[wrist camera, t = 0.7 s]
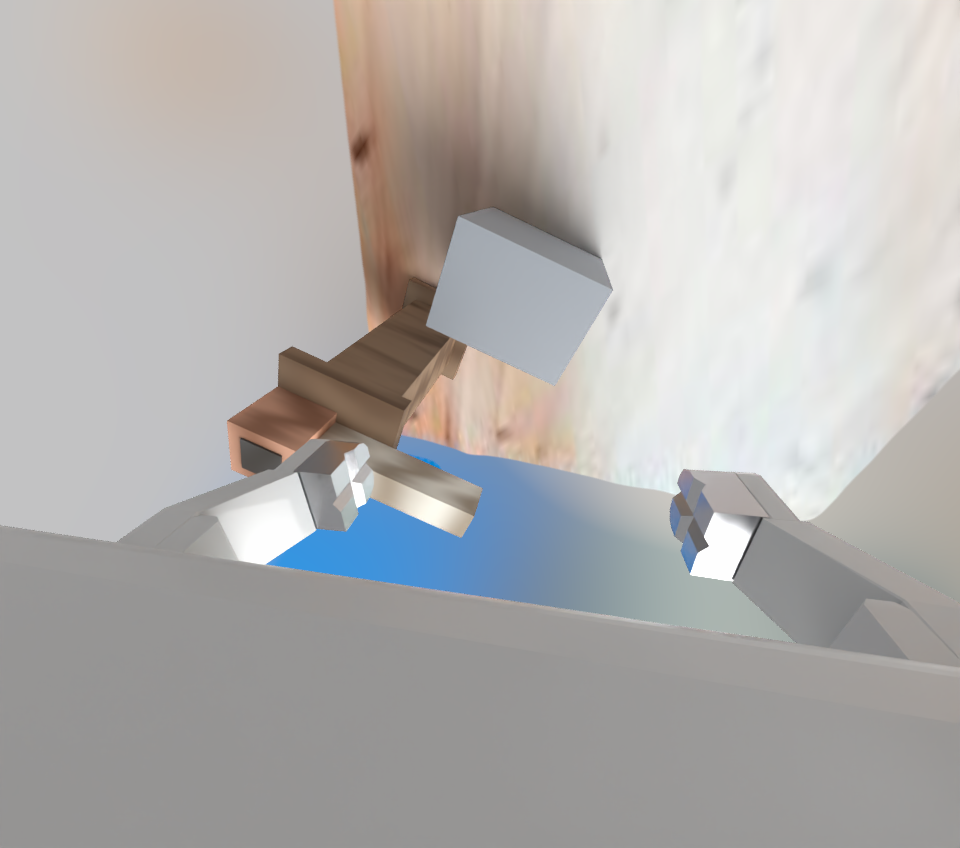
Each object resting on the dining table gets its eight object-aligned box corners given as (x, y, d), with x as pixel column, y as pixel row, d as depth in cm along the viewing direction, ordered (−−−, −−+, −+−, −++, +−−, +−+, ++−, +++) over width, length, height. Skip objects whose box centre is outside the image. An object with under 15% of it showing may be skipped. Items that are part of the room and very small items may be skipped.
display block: (493, 207, 41) (458, 215, 29) (601, 259, 41) (613, 289, 29) (464, 289, 47) (425, 325, 34) (560, 334, 47) (554, 385, 35)
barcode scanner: (487, 480, 28) (471, 531, 24) (466, 516, 31) (449, 567, 27) (278, 386, 28) (225, 422, 23) (277, 431, 30) (229, 470, 26)
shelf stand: (413, 277, 47) (278, 353, 26) (481, 309, 48) (404, 410, 26) (395, 347, 54) (276, 455, 32) (455, 375, 54) (376, 499, 33)
